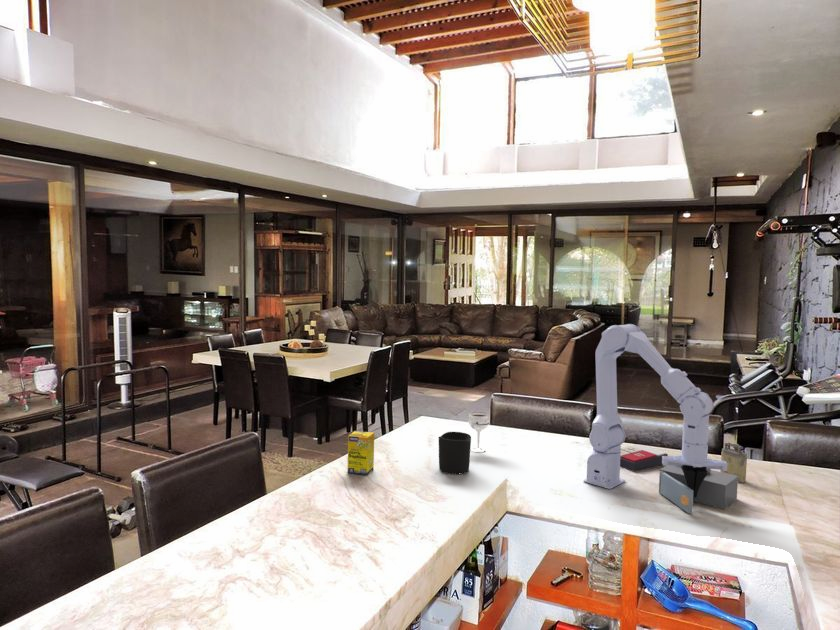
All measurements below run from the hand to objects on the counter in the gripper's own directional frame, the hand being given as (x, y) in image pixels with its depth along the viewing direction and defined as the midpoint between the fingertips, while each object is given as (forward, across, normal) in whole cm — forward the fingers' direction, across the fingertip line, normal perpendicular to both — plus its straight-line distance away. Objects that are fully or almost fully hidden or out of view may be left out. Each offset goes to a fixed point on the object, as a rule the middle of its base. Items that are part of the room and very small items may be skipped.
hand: (692, 495), depth 141 cm
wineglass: (+3, -58, +31) cm, 65 cm away
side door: (+2, -4, +1) cm, 5 cm away
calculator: (+3, -9, +33) cm, 34 cm away
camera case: (+2, +3, +8) cm, 9 cm away
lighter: (+3, +16, +25) cm, 30 cm away
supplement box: (+3, -87, +1) cm, 87 cm away
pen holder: (+3, -62, +10) cm, 63 cm away
